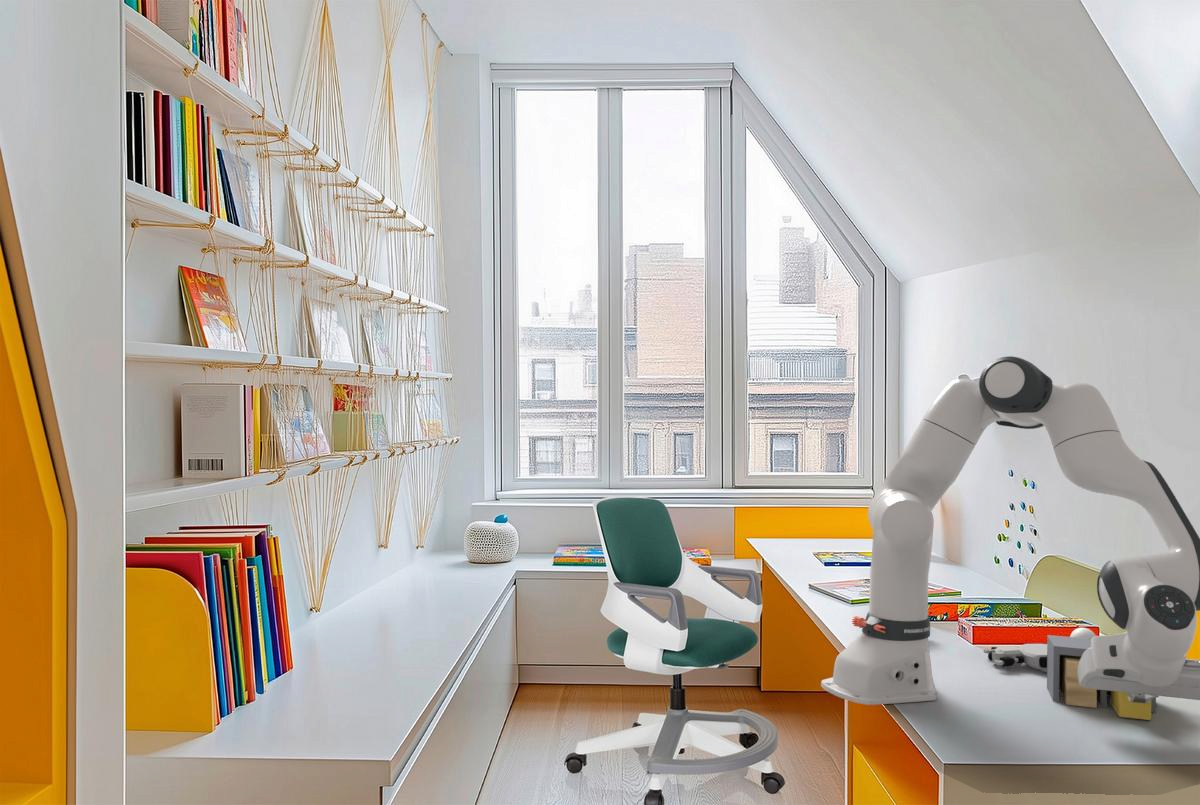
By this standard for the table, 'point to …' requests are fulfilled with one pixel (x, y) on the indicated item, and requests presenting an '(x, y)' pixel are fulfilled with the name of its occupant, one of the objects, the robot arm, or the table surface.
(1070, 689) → the light wood block
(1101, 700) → the grey slotted holder
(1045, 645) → the robot toy
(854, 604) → the table surface
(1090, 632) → the white egg
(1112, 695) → the yellow rectangular block
